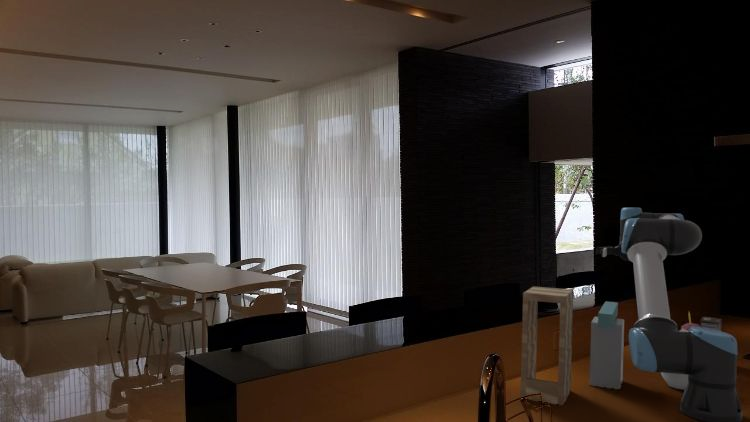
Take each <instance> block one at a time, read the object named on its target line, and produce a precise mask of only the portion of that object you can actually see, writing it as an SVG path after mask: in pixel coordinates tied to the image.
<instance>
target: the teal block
mask: <svg viewBox="0 0 750 422" xmlns="http://www.w3.org/2000/svg"><path fill="white" fill-rule="evenodd" d="M618 311H619V302H618V301H617V302H615V301H607V300H606V301H605V302H604V303H603V304H602V306H601V308H600V310H599V311H598V313H597V317H598V326H600V327H610V328H612V326H613V324H614V322H615V319H617V317H618V313H619V312H618Z"/></svg>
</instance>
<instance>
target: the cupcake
mask: <svg viewBox="0 0 750 422" xmlns="http://www.w3.org/2000/svg"><path fill="white" fill-rule="evenodd" d="M687 315H688V321H689V322H687V323H684V324H682V325H681V326H680V328H681V329H680V330H683V329H684V330H687V331H689V329H690V327H692V326H699V327H700V324H698V323H693V322H692V318H691V313H690V312H688V314H687Z"/></svg>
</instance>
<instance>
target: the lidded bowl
mask: <svg viewBox="0 0 750 422" xmlns="http://www.w3.org/2000/svg"><path fill="white" fill-rule="evenodd" d="M660 374H661V376H662V378H663V380H664V381H665V382H666V384H667V385H668V387H670V388H674V389H677V390H683V391H685V388H686V386H687V384H688V375H686V374H674V373H663V372H660Z"/></svg>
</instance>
